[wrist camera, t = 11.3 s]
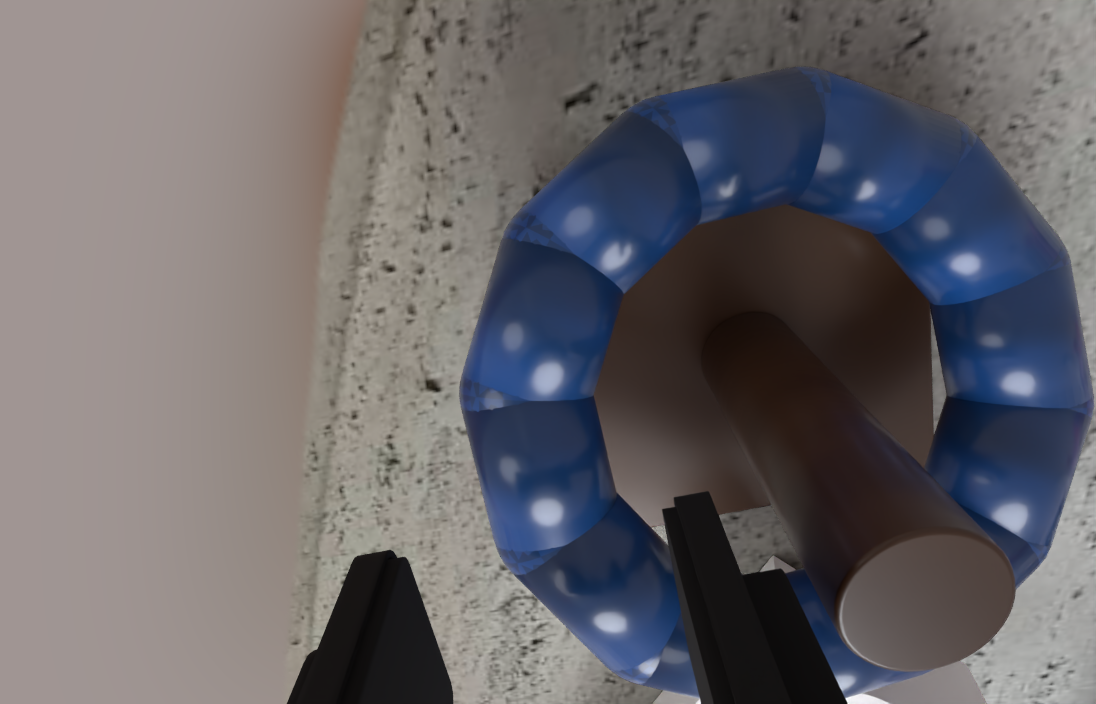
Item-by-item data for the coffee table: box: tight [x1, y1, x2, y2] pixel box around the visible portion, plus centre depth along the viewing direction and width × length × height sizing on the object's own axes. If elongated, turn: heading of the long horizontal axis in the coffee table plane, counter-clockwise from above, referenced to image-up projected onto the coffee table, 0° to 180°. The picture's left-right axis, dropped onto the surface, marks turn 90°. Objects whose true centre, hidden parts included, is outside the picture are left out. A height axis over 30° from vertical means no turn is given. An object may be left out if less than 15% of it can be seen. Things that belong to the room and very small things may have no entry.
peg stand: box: [594, 204, 1016, 672], centre depth 14 cm, size 9×9×10 cm
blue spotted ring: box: [459, 67, 1094, 699], centre depth 15 cm, size 13×13×3 cm
